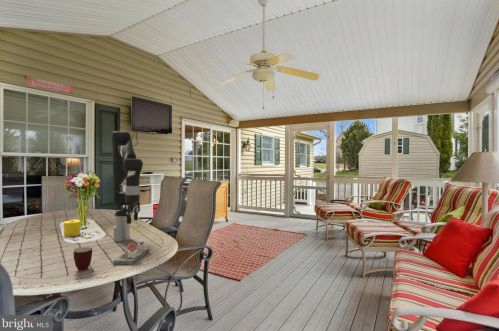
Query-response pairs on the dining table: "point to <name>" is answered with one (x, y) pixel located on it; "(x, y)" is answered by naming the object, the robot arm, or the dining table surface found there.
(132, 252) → the toggle
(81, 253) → the mug
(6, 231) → the dining table surface
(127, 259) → the panel
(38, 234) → the dining table surface
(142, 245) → the toggle
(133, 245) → the cap
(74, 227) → the yellow cylinder
